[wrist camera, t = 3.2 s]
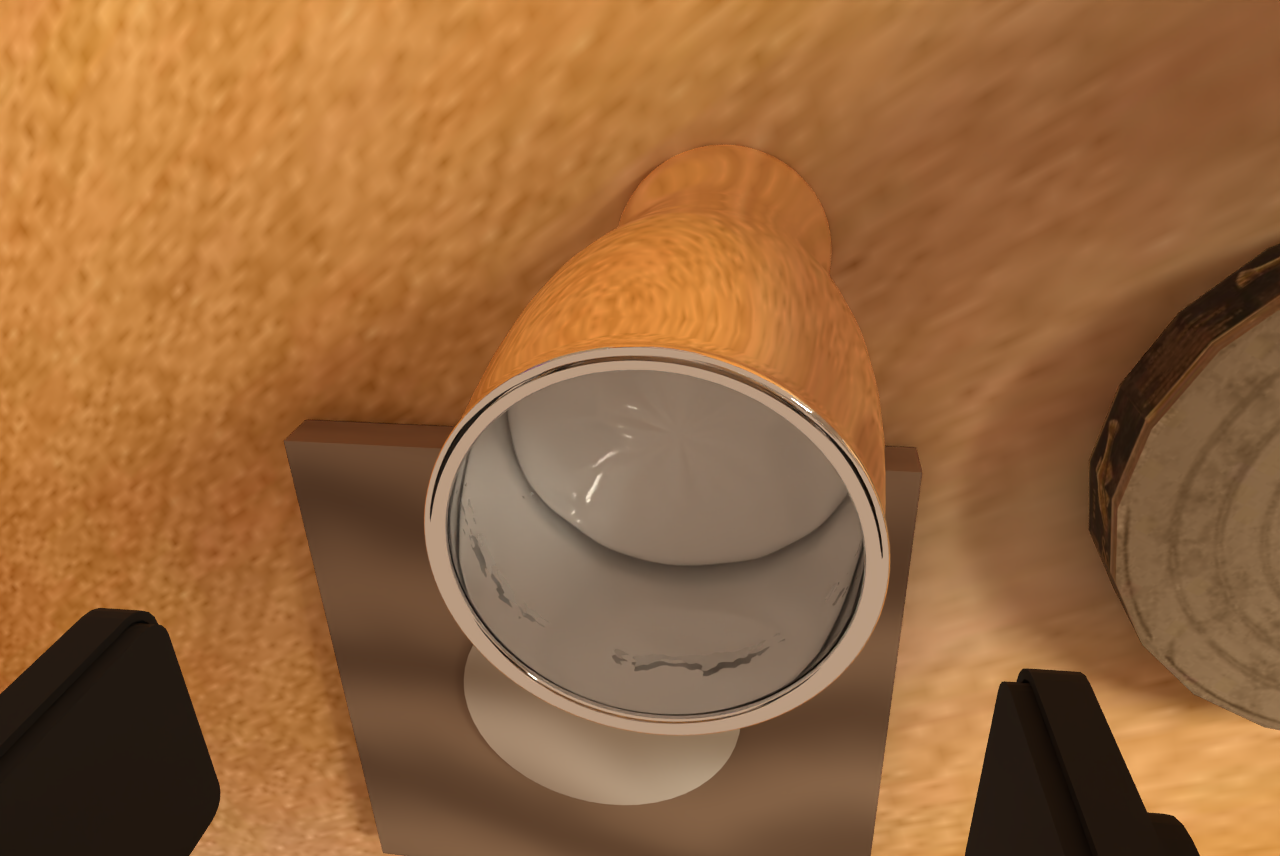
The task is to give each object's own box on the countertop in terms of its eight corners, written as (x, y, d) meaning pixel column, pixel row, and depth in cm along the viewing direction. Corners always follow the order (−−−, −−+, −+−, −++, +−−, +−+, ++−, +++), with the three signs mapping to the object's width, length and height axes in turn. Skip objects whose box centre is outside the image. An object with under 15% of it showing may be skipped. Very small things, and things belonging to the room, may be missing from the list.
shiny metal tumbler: (613, 110, 24) (401, 292, 11) (872, 144, 24) (971, 379, 11) (593, 346, 28) (412, 701, 14) (820, 381, 27) (846, 785, 14)
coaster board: (305, 419, 30) (277, 446, 29) (916, 447, 28) (924, 479, 26) (396, 823, 40) (379, 861, 38) (860, 876, 37) (863, 919, 35)
